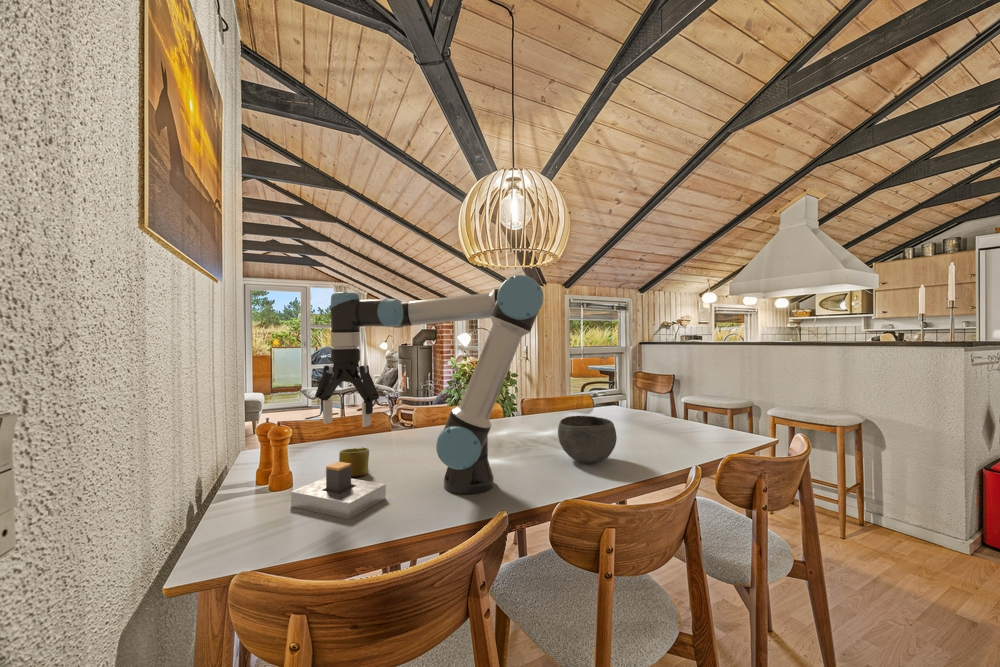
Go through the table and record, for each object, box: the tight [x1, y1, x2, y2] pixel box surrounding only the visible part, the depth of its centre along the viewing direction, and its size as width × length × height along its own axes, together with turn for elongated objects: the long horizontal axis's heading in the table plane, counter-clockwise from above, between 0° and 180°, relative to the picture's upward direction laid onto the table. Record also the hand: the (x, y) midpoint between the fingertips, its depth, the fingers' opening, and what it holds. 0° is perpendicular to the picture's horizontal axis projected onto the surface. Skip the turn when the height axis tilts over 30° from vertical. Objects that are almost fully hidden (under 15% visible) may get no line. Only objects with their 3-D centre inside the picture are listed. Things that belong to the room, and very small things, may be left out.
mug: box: [338, 446, 370, 478], centre depth 135 cm, size 12×10×10 cm
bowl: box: [557, 415, 618, 465], centre depth 147 cm, size 21×21×15 cm
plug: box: [325, 461, 352, 494], centre depth 111 cm, size 4×4×10 cm
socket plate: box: [290, 476, 387, 520], centre depth 111 cm, size 20×14×5 cm
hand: (346, 424), depth 113 cm, fingers open, 13 cm apart
